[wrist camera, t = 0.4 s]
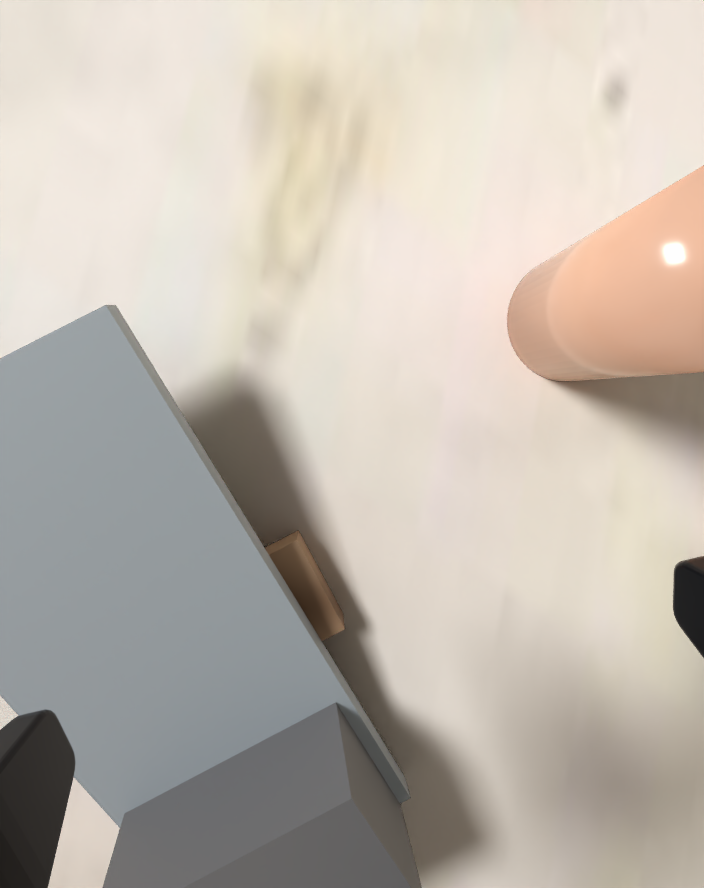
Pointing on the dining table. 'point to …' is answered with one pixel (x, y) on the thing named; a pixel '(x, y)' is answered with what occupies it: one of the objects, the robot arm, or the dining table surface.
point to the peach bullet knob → (620, 295)
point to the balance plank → (174, 640)
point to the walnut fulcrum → (307, 584)
